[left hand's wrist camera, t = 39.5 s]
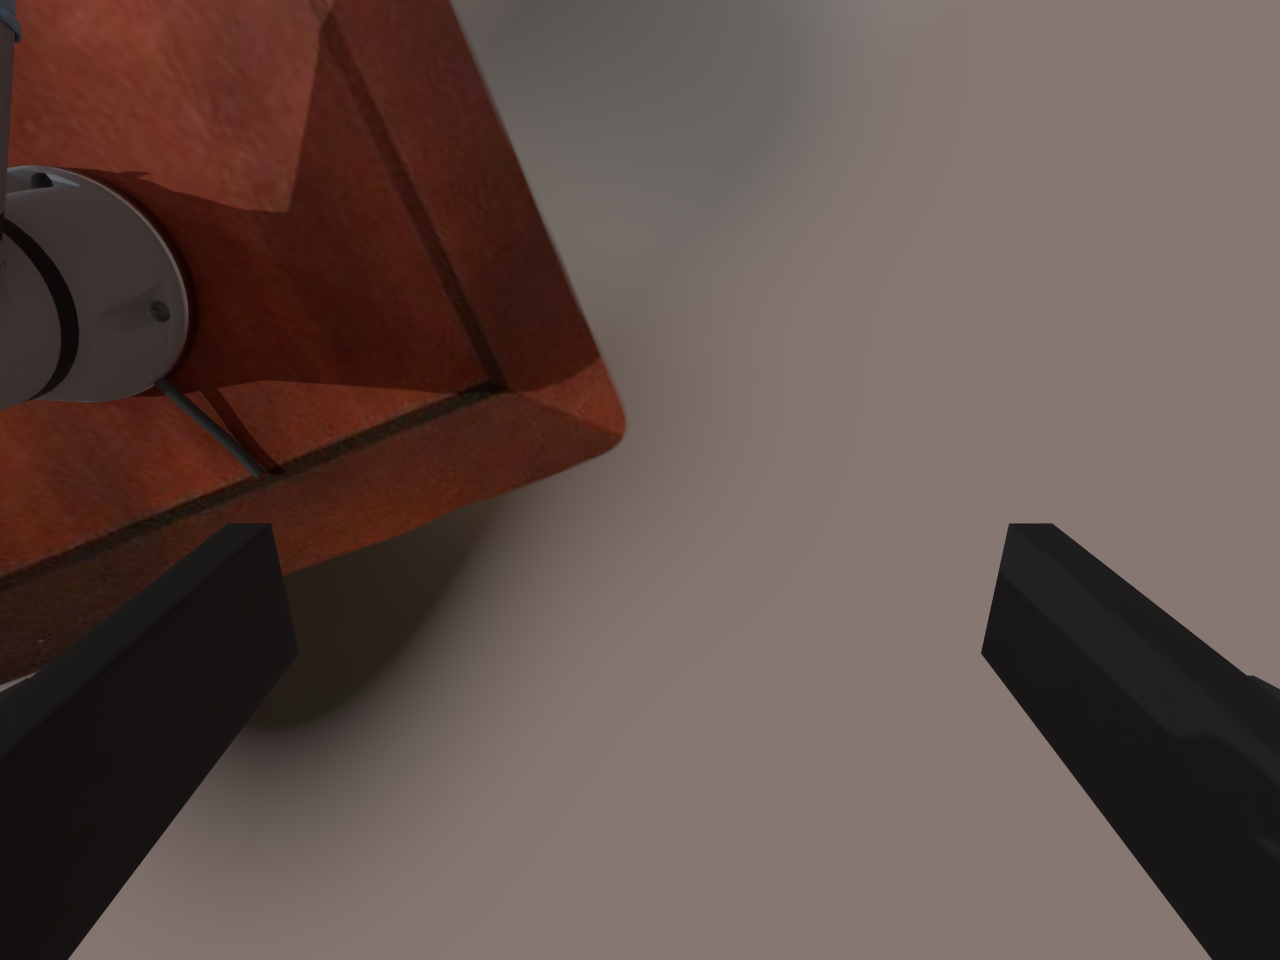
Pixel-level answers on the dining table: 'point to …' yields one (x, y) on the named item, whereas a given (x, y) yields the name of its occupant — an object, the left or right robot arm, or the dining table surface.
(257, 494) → the dining table surface
